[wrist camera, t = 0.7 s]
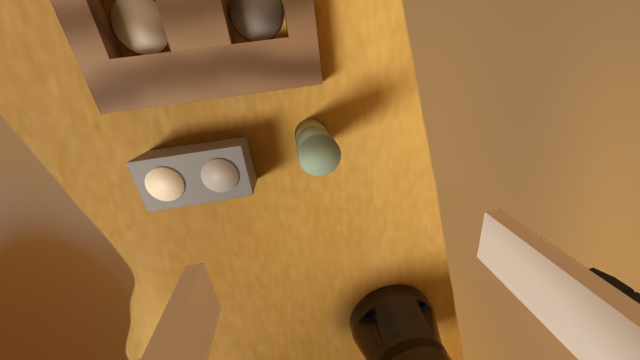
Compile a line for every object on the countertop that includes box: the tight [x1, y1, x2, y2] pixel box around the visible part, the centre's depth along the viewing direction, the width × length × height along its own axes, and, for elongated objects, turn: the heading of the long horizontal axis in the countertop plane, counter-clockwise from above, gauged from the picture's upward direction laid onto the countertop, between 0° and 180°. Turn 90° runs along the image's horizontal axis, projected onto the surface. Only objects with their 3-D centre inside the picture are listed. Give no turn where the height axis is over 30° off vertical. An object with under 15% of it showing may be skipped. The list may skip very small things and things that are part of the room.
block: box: [126, 136, 257, 212], centre depth 31 cm, size 6×12×5 cm, turn 97°
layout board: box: [50, 0, 323, 114], centre depth 26 cm, size 16×24×2 cm, turn 97°
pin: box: [295, 119, 341, 176], centre depth 29 cm, size 4×4×10 cm
